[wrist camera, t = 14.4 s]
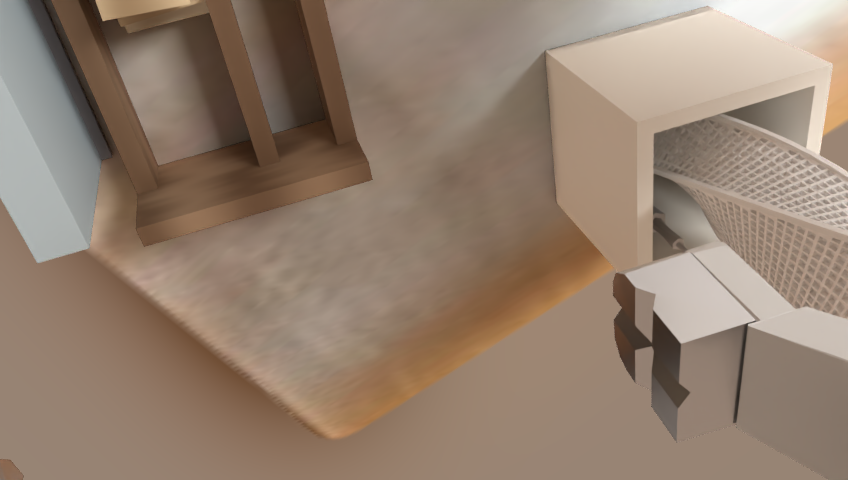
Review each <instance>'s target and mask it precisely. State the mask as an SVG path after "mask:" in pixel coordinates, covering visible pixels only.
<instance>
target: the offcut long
mask: <svg viewBox="0 0 848 480" xmlns="http://www.w3.org/2000/svg"><path fill="white" fill-rule="evenodd" d="M206 13H209V10H208V7H207V4H206V1H205V0H204V1H203V2H200V3H196V4H193V5H190V6H187V7H184V8H180V9H177V10H174V11H171V12H168V13H164V14H161V15H158V16H155V17H151V18H148V19H145V20H142V21H139V22H135V23H132V24H129V25H126V26H125V28H126V31H127V33H132V32H136V31H140V30H143V29H147V28H151V27H155V26H159V25H163V24H167V23H171V22H175V21H179V20H183V19H187V18H191V17H195V16H198V15H202V14H206Z"/></svg>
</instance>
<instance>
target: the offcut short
mask: <svg viewBox="0 0 848 480" xmlns="http://www.w3.org/2000/svg"><path fill="white" fill-rule="evenodd" d="M95 1H96V4H97V6H98V9H99V12H100V15H101V18H102V21H106V20H111V19H116V18H121V17H127V16H132V15H137V14H142V13H147V12H152V11H157V10H162V9H167V8H173V7H178V6H183V5H188V4H190V0H95Z"/></svg>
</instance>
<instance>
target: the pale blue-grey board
mask: <svg viewBox="0 0 848 480" xmlns="http://www.w3.org/2000/svg"><path fill="white" fill-rule="evenodd" d="M101 162H102V160H101V157H100V155H99V153H98V151H97V149H96V147H95V144H94V142H93V140H92V138H91V136H90V134H89V131H88V129H87V127H86V125H85V123H84V121H83V119H82V116H81V114H80V112H79V110H78V108H77V106H76V103H75V101H74V99H73V97H72V95H71V93H70V90H69V88H68V86H67V84H66V82H65V80H64V78H63V75H62V73H61V71H60V69H59V67H58V65H57V62H56V60H55V58H54V56H53V54H52V52H51V49H50V47H49V45H48V43H47V41H46V39H45V37H44V34H43V32H42V30H41V28H40V26H39V24H38V21H37V19H36V17H35V15H34V13H33V11H32V9H31V6H30V4H29V2H28V0H0V198H1V200H2V202H3V204H4V205H5V207H6V209H7V211H8V212H9V214H10V216H11V218H12V219H13V221H14V223H15V225H16V226H17V228H18V230H19V232H20V233H21V235H22V237H23V239H24V241H25V242H26V244H27V246H28V248H29V249H30V251H31V253H32V255H33V256H34V258H35V260H36V262H37V263H40V262H43V261H47V260H51V259H54V258H57V257H61V256H64V255H68V254H71V253H75V252H78V251H81V250H85V249H89V248H90V241H91V234H92V226H93V219H94V212H95V205H96V198H97V190H98V183H99V176H100V169H101Z"/></svg>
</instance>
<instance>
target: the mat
mask: <svg viewBox="0 0 848 480" xmlns="http://www.w3.org/2000/svg"><path fill="white" fill-rule="evenodd" d="M28 2H29V4H30V6H31V9H32V11H33V13H34V15H35V17H36V19H37V21H38V24H39V26H40V28H41V30H42V32H43V34H44V37H45V39H46V41H47V43H48V45H49V47H50V49H51V52H52V54H53V56H54V58H55V60H56V62H57V65H58V67H59V69H60V71H61V73H62V75H63V78H64V80H65V82H66V84H67V86H68V88H69V90H70V93H71V95H72V97H73V99H74V101H75V103H76V106H77V108H78V110H79V112H80V114H81V116H82V119H83V121H84V123H85V125H86V127H87V129H88V131H89V134H90V136H91V138H92V140H93V142H94V144H95V147H96V149H97V151H98V153H99V155H100V157H101V160H105V159H108V158H112V155H113V154H112V152H111V150H110V148H109V146H108V143H107V141H106V139H105V137H104V134H103V132H102V130H101V128H100V126H99V123H98V121H97V119H96V117H95V115H94V112H93V110H92V108H91V106H90V104H89V101H88V99H87V97H86V95H85V92H84V90H83V88H82V86H81V84H80V81H79V79H78V77H77V75H76V73H75V70H74V68H73V66H72V64H71V62H70V59H69V57H68V55H67V53H66V50H65V48H64V46H63V44H62V42H61V39H60V37H59V35H58V33H57V31H56V28H55V26H54V24H53V22H52V19H51V17H50V15H49V13H48V11H47V8H46V6H45V4H44V2H43V0H28Z"/></svg>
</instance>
